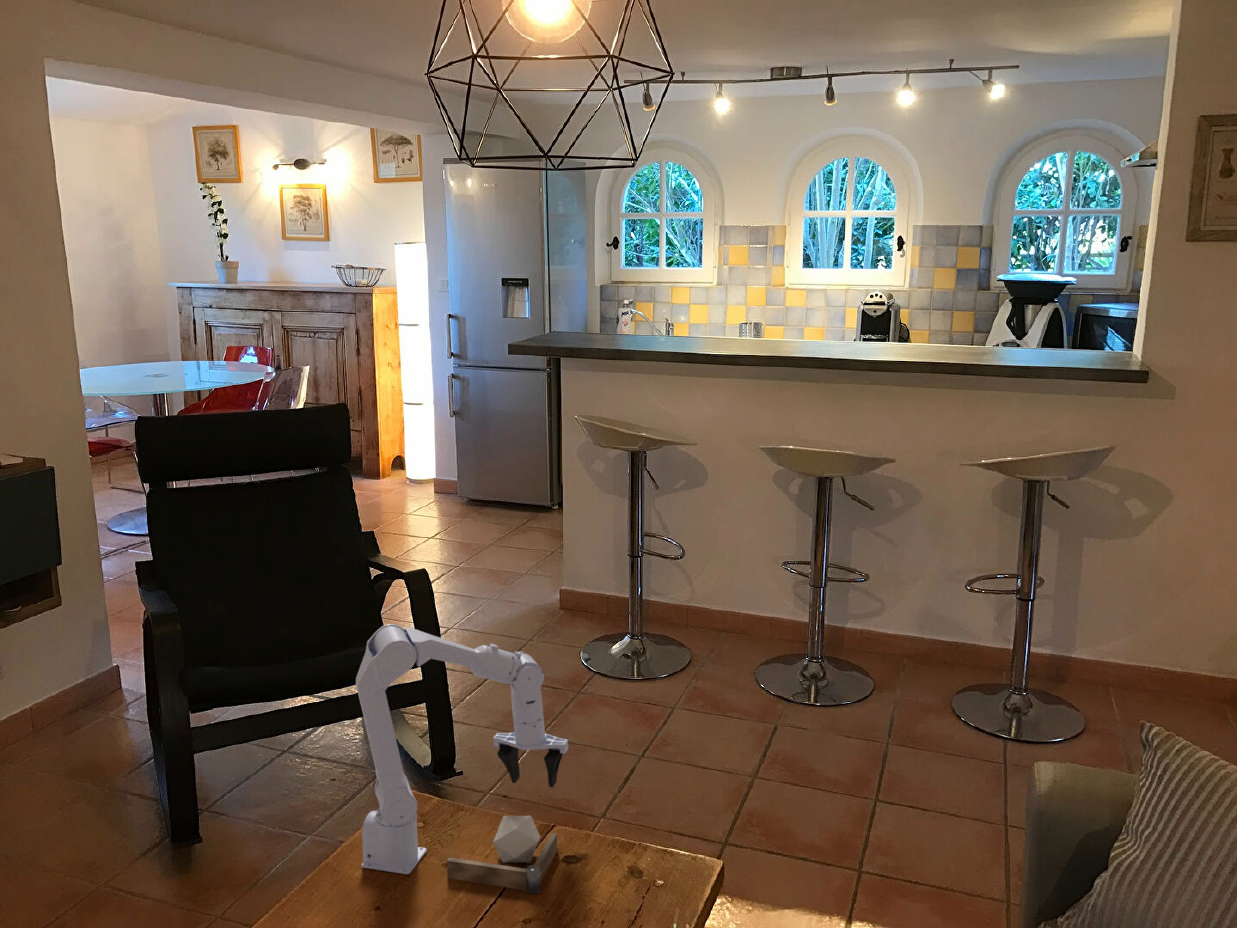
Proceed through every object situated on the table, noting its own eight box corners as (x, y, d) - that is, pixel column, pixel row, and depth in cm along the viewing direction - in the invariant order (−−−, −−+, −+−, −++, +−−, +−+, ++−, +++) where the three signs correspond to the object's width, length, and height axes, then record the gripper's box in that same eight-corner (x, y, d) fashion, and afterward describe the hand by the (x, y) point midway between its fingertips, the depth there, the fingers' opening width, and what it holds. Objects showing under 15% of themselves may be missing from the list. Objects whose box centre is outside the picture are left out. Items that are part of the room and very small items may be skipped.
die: (520, 880, 180) (549, 832, 181) (480, 854, 180) (509, 806, 182) (524, 870, 188) (551, 824, 189) (485, 845, 188) (513, 799, 190)
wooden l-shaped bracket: (445, 880, 179) (445, 860, 178) (474, 838, 192) (474, 819, 191) (537, 894, 175) (537, 873, 174) (560, 850, 188) (560, 831, 187)
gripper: (571, 710, 191) (576, 775, 194) (501, 704, 195) (507, 767, 198) (558, 728, 184) (564, 794, 187) (486, 721, 189) (493, 786, 192)
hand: (534, 782), depth 192 cm, fingers open, 7 cm apart
